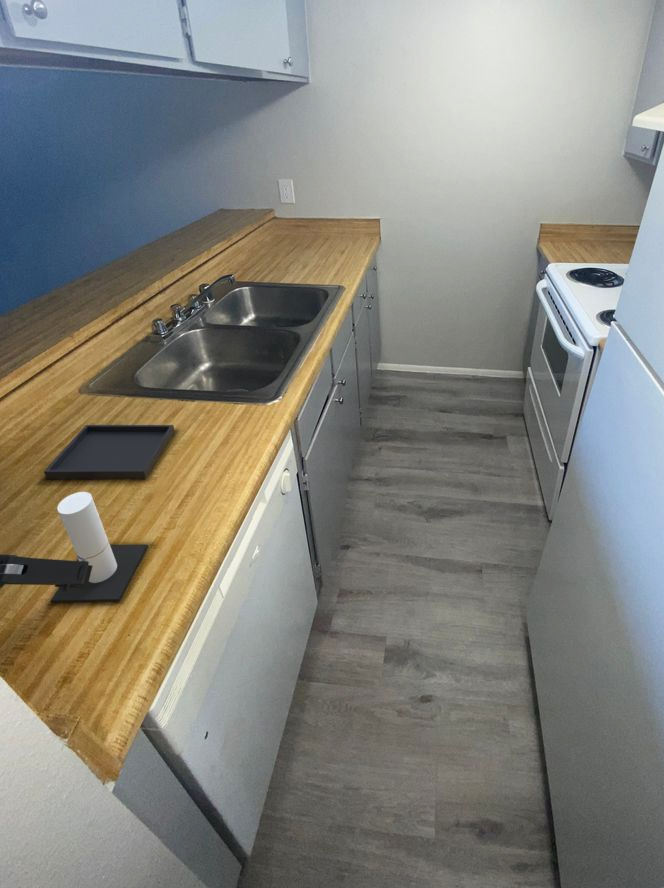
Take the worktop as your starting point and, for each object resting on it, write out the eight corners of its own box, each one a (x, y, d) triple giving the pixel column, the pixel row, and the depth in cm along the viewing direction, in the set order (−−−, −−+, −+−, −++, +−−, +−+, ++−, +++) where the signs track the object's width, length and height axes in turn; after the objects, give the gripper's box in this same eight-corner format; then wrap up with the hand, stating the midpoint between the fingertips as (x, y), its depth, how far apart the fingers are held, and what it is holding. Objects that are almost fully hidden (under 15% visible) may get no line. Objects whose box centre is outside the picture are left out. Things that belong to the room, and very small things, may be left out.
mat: (51, 602, 71) (50, 600, 71) (87, 547, 80) (86, 545, 80) (119, 601, 72) (118, 599, 72) (148, 546, 81) (147, 544, 80)
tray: (46, 479, 94) (43, 471, 93) (88, 431, 107) (86, 424, 106) (145, 478, 95) (143, 471, 94) (175, 431, 108) (173, 424, 107)
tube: (121, 557, 78) (96, 490, 71) (111, 580, 74) (84, 512, 67) (92, 561, 77) (65, 493, 70) (81, 584, 74) (51, 515, 67)
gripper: (58, 523, 47) (138, 546, 65) (-230, 525, 44) (-61, 548, 62) (31, 609, 43) (124, 607, 62) (-284, 617, 40) (-87, 613, 59)
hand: (31, 577), depth 62 cm, fingers open, 13 cm apart
